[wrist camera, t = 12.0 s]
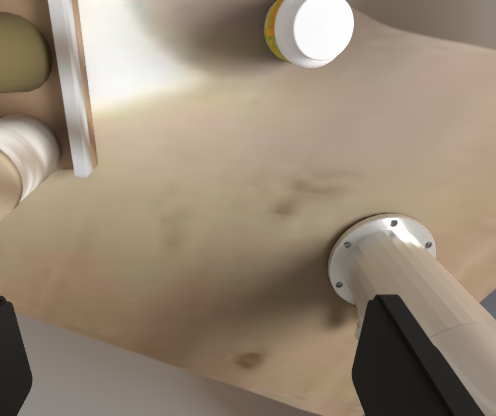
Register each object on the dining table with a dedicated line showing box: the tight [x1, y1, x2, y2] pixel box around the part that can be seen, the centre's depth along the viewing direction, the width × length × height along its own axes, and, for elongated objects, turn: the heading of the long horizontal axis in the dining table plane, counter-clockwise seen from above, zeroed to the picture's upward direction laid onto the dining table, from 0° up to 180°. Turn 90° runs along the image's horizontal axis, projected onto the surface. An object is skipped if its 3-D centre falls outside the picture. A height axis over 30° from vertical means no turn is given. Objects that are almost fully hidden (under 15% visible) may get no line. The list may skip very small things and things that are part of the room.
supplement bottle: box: [264, 0, 354, 68], centre depth 28 cm, size 5×5×10 cm
